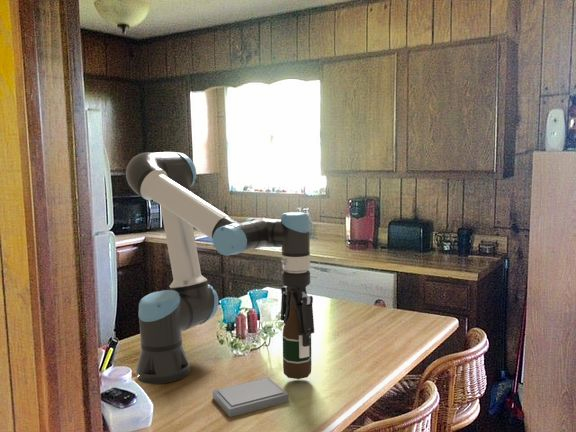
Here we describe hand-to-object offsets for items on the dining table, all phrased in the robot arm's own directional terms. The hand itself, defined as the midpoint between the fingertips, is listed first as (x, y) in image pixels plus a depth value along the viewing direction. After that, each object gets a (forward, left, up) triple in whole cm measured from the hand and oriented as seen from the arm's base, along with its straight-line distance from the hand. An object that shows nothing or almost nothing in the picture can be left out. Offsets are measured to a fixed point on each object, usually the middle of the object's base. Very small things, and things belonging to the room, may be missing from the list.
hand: (297, 352), depth 147 cm
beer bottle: (0, 0, -6) cm, 6 cm away
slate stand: (+3, -16, -8) cm, 18 cm away
